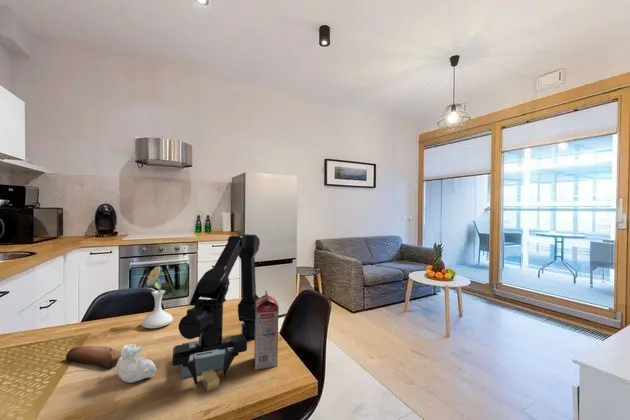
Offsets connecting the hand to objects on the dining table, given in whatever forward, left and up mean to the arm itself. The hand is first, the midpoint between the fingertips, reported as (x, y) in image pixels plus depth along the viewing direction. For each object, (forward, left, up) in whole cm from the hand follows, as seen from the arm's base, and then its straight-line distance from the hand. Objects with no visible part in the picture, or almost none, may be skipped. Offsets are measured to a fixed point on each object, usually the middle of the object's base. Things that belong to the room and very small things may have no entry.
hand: (210, 379), depth 74 cm
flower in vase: (+16, -49, -1) cm, 52 cm away
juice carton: (-17, -4, -1) cm, 18 cm away
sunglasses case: (+30, -28, -2) cm, 41 cm away
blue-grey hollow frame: (+1, -12, -1) cm, 12 cm away
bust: (+19, -11, -1) cm, 22 cm away
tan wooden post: (0, 0, -1) cm, 1 cm away
